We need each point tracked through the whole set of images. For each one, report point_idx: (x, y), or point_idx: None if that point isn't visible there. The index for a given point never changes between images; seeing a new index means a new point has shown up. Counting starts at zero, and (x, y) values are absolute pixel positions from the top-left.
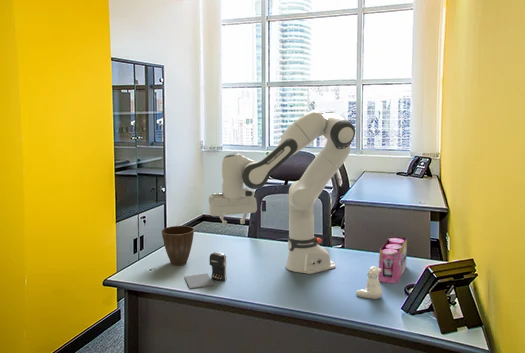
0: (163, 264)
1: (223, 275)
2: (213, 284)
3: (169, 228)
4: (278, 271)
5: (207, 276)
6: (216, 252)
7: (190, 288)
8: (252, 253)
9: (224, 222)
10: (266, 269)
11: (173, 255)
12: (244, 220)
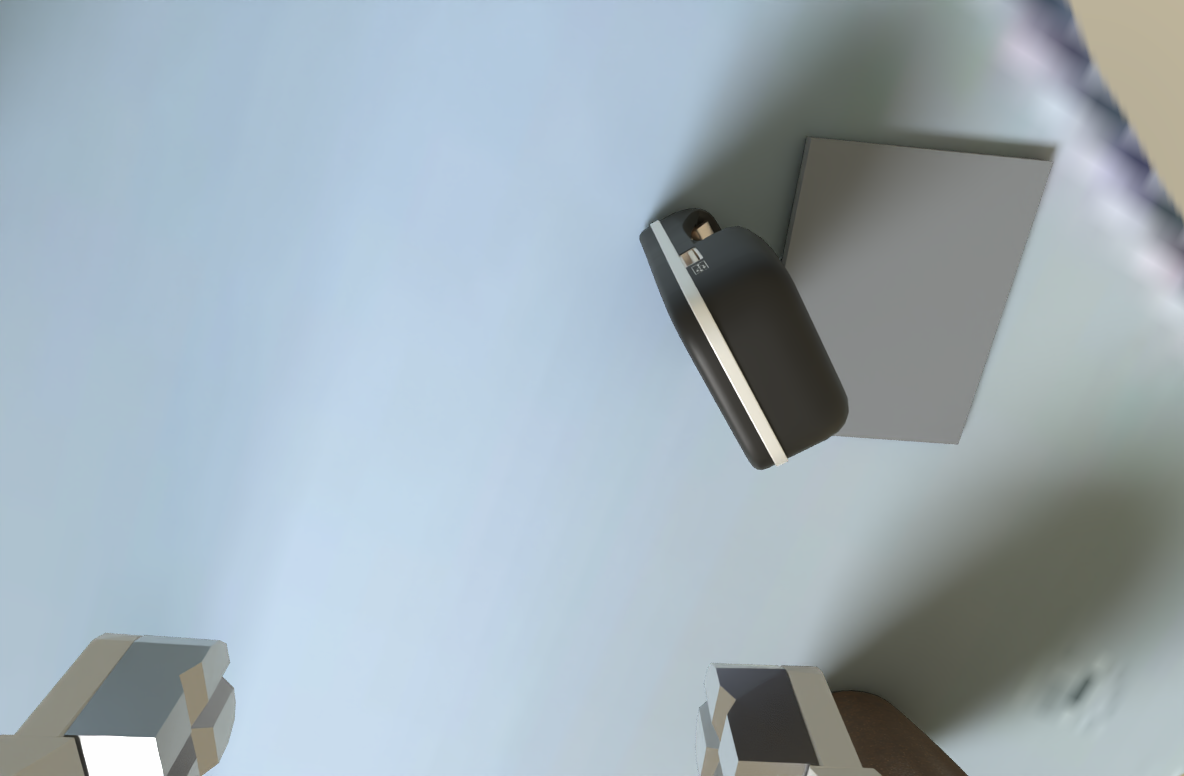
0: (953, 743)
1: (684, 224)
2: (819, 138)
3: None
4: (46, 194)
5: None
6: (766, 425)
7: (1044, 160)
8: None
9: (817, 741)
10: (166, 304)
11: (953, 762)
12: (43, 711)
